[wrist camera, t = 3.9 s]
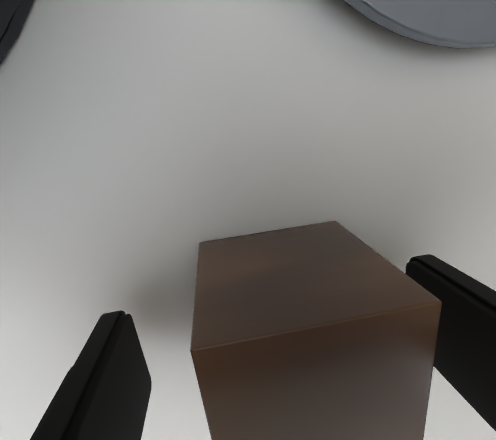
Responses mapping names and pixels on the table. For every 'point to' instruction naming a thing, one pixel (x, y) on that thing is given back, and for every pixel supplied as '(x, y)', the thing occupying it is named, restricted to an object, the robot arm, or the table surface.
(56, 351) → the table surface
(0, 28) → the pot
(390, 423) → the block
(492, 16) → the lid
